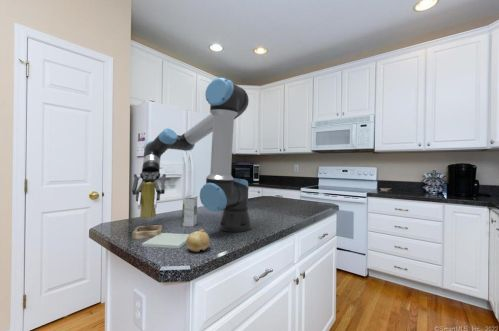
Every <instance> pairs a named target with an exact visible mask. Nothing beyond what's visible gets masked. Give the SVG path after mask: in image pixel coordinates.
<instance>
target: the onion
mask: <svg viewBox="0 0 499 331" xmlns="http://www.w3.org/2000/svg"><path fill="white" fill-rule="evenodd" d="M189 234H190V235H189V236H188V238H187V240H186V243H185V244H186V246H187V249H188V250H189V251H191V252H195V253H199V252H201V251H205V250H207V248H208V247H209V245H210V243H211V239H210V236H209V234H208V233H207V232H206V231H205V229H202V228H201V227H200V228H199V230H197V231H196V230H195V231H192V233H189Z"/></svg>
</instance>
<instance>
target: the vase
mask: <svg viewBox="0 0 499 331" xmlns="http://www.w3.org/2000/svg"><path fill="white" fill-rule="evenodd" d="M140 184H141V207H140V215H139V218H142V219H149V218H151V219H152V218H154V217H156V216H157V214H156V212H157V211H156V208H154V198H155V192H156V189H155V183H154V182H146V183H141V182H140Z"/></svg>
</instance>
